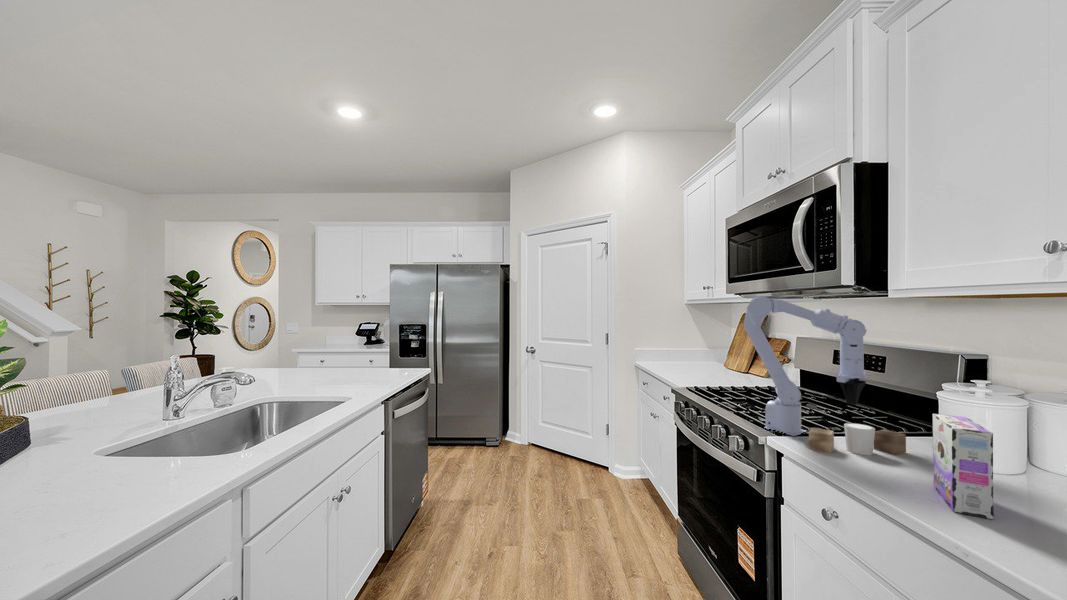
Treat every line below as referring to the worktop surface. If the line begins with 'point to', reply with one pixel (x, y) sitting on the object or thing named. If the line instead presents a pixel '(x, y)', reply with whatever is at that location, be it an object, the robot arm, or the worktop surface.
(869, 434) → the white cup
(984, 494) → the candy box
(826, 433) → the oak block
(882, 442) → the walnut block
